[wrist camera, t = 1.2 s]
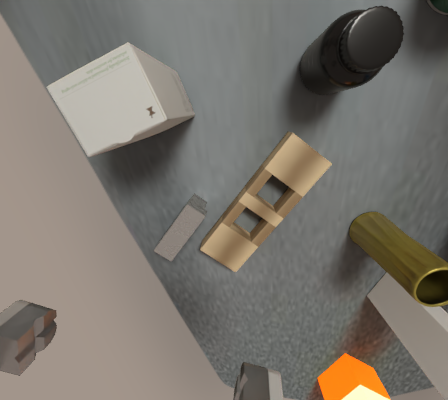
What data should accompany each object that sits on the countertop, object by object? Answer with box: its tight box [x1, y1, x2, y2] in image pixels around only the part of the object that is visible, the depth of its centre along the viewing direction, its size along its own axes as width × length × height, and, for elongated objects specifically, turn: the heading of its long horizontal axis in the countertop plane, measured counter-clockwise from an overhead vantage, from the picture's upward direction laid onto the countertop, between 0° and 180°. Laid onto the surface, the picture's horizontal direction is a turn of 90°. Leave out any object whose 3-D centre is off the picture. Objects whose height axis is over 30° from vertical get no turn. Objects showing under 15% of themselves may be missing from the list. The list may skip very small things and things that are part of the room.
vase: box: [350, 212, 448, 307], centre depth 32 cm, size 6×6×14 cm
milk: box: [367, 272, 448, 400], centre depth 32 cm, size 6×6×22 cm
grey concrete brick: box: [154, 193, 207, 261], centre depth 37 cm, size 3×9×6 cm, turn 144°
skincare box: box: [47, 42, 195, 157], centre depth 27 cm, size 8×7×16 cm
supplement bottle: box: [300, 6, 404, 95], centre depth 26 cm, size 7×7×12 cm
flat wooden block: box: [200, 132, 332, 272], centre depth 37 cm, size 7×22×3 cm, turn 144°
